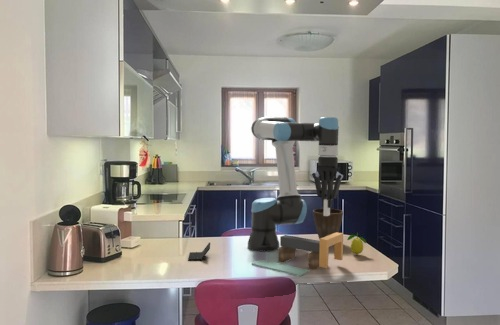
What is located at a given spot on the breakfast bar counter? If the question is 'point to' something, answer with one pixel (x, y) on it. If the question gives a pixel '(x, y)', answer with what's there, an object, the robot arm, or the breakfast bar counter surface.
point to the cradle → (290, 253)
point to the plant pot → (327, 222)
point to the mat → (281, 267)
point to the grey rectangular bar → (300, 243)
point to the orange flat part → (327, 242)
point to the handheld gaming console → (198, 254)
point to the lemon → (356, 244)
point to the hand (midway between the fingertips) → (326, 215)
